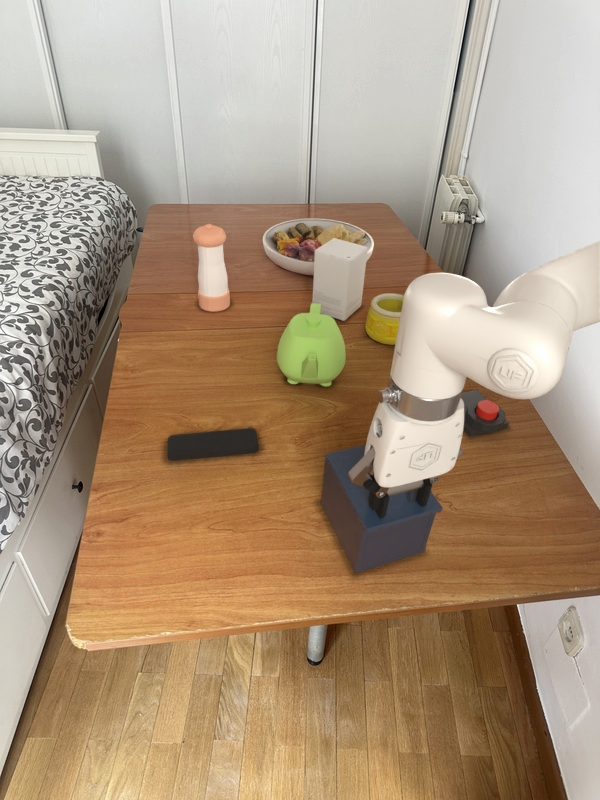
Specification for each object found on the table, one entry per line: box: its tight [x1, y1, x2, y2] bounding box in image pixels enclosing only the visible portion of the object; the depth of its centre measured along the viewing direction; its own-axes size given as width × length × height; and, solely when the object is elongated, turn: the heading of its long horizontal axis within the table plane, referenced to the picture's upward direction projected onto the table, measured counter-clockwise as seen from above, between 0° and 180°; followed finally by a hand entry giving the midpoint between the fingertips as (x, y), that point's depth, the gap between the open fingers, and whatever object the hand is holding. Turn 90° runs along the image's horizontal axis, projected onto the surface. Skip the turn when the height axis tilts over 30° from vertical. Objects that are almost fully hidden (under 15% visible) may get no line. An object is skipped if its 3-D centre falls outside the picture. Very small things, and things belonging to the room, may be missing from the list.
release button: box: [476, 399, 500, 421], centre depth 94 cm, size 4×4×2 cm
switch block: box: [461, 389, 510, 437], centre depth 97 cm, size 11×8×3 cm
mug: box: [364, 292, 405, 346], centre depth 114 cm, size 13×11×12 cm
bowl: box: [262, 217, 375, 277], centre depth 146 cm, size 30×30×8 cm
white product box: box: [311, 238, 368, 322], centre depth 122 cm, size 9×9×15 cm
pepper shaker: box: [192, 223, 231, 312], centre depth 120 cm, size 7×7×19 cm
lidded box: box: [320, 458, 437, 574], centre depth 75 cm, size 13×11×10 cm
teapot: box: [276, 302, 347, 387], centre depth 103 cm, size 20×13×13 cm
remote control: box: [166, 427, 260, 462], centre depth 89 cm, size 5×2×15 cm
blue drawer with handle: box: [324, 444, 443, 533], centre depth 70 cm, size 13×11×5 cm
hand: (397, 502), depth 68 cm, fingers closed on blue drawer with handle, 5 cm apart
